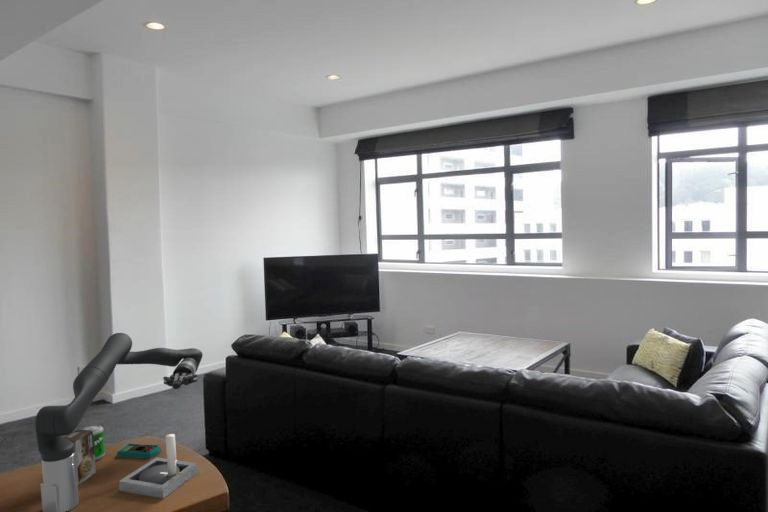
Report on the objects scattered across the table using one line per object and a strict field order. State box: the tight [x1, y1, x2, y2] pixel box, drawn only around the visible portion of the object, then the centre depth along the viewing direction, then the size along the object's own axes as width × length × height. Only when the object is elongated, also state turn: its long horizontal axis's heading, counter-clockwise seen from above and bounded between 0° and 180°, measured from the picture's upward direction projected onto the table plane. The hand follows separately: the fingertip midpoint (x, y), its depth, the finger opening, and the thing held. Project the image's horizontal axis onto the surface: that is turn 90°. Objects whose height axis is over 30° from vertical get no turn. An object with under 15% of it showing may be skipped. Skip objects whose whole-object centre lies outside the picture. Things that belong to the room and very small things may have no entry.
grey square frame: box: [118, 457, 199, 499], centre depth 188 cm, size 18×18×4 cm
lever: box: [139, 433, 179, 485], centre depth 187 cm, size 13×13×16 cm
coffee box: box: [63, 429, 97, 486], centre depth 191 cm, size 9×6×16 cm
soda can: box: [82, 424, 106, 462], centre depth 207 cm, size 8×8×12 cm
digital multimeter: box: [116, 443, 162, 460], centre depth 210 cm, size 7×15×3 cm, turn 82°
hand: (175, 386), depth 197 cm, fingers closed
